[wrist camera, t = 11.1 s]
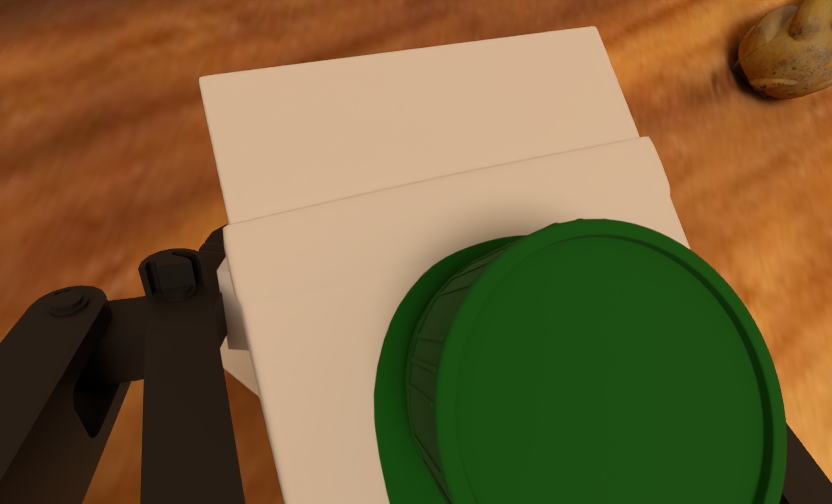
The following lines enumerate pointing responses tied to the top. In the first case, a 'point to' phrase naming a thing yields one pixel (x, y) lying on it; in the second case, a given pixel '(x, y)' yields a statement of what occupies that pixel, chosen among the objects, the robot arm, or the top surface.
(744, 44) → the decorative figurine
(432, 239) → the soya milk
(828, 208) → the top surface
